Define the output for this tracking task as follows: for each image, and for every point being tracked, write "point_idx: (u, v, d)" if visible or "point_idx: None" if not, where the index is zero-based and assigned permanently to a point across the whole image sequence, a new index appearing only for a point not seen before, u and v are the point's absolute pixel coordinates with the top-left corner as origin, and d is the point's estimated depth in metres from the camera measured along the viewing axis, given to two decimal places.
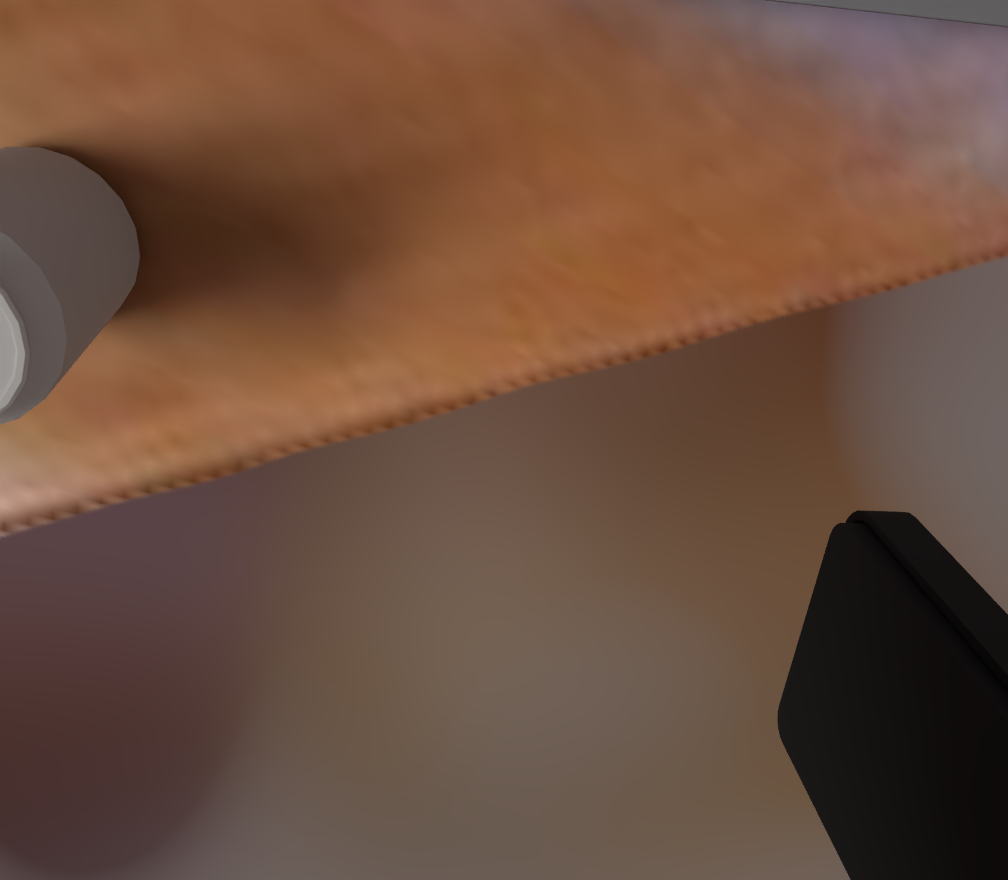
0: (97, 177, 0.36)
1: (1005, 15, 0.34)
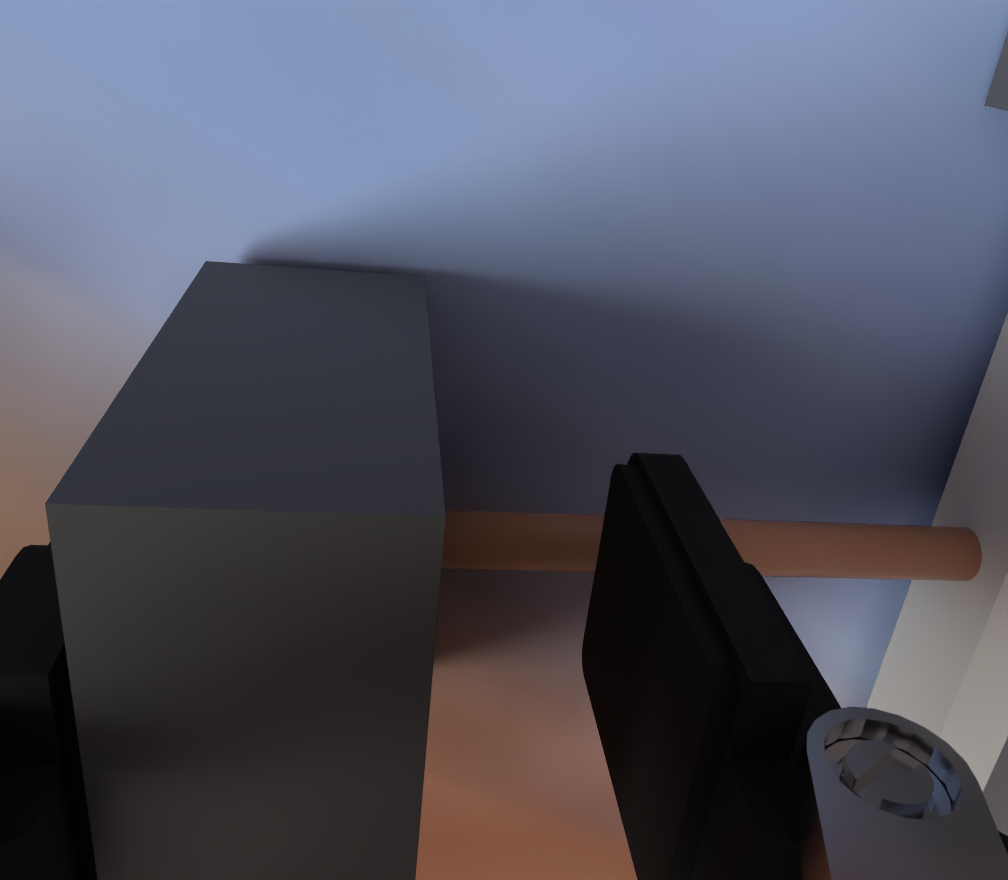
0: None
1: None
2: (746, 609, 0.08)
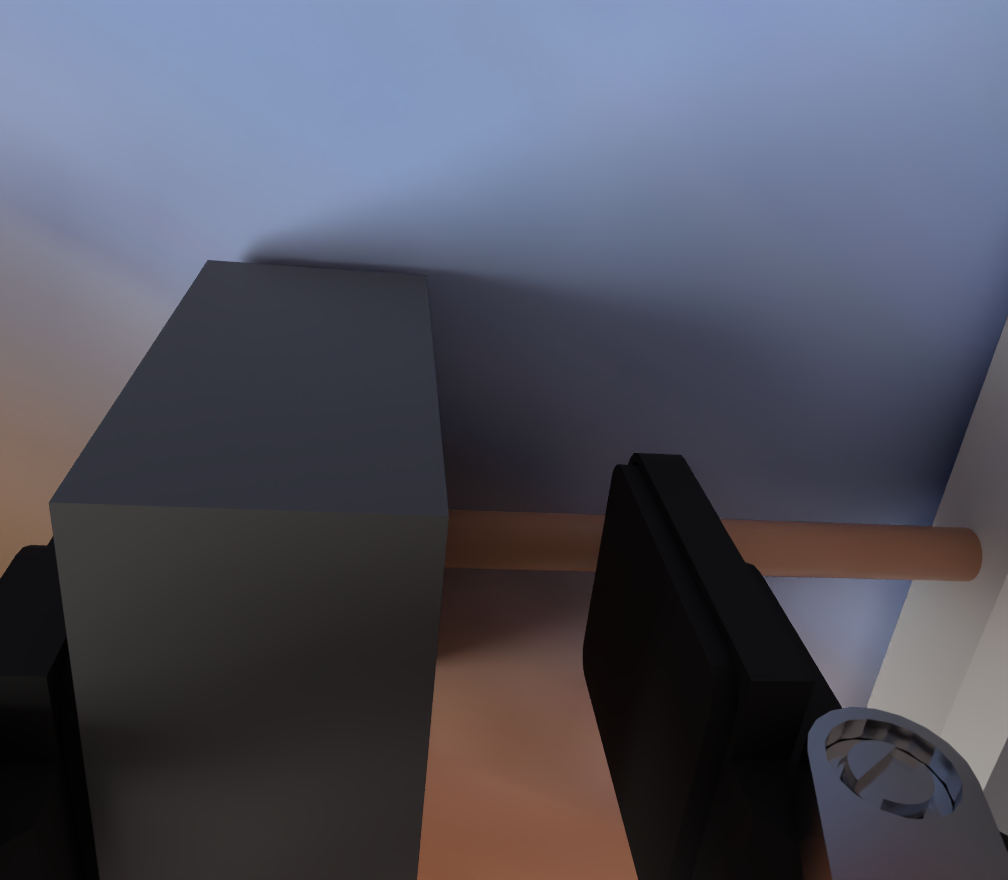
0: None
1: None
2: (747, 609, 0.08)
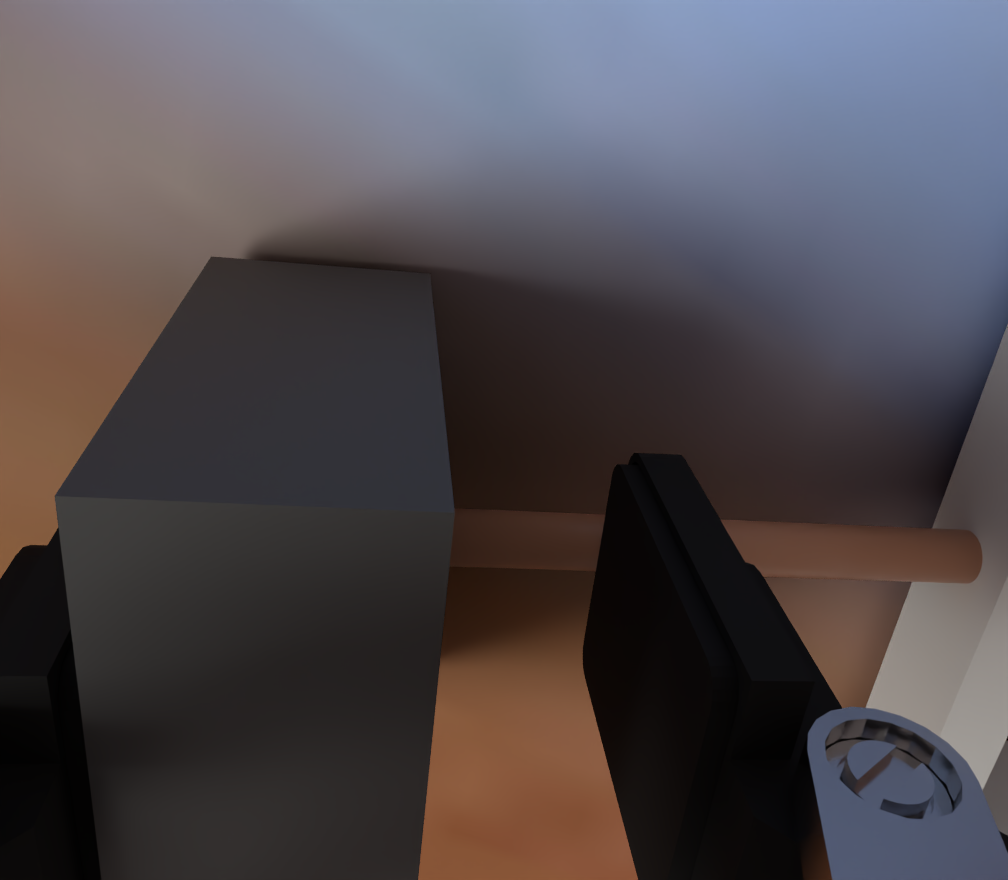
0: None
1: None
2: (747, 609, 0.08)
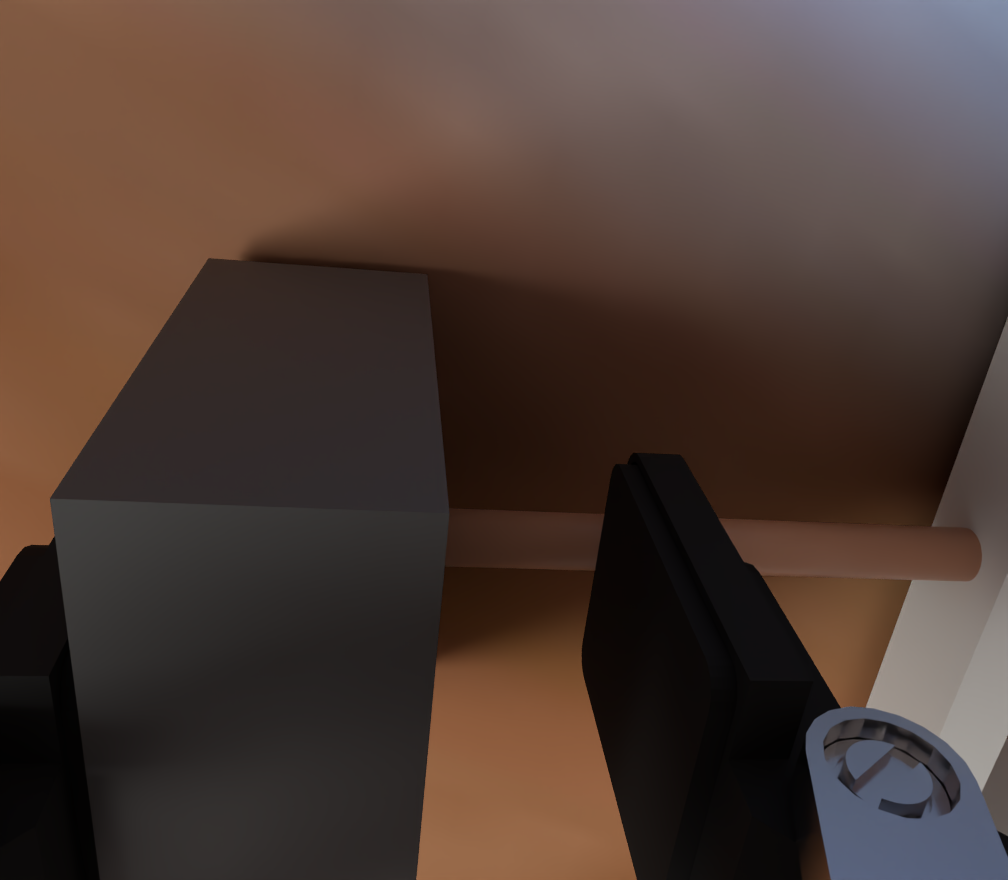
0: None
1: None
2: (745, 609, 0.08)
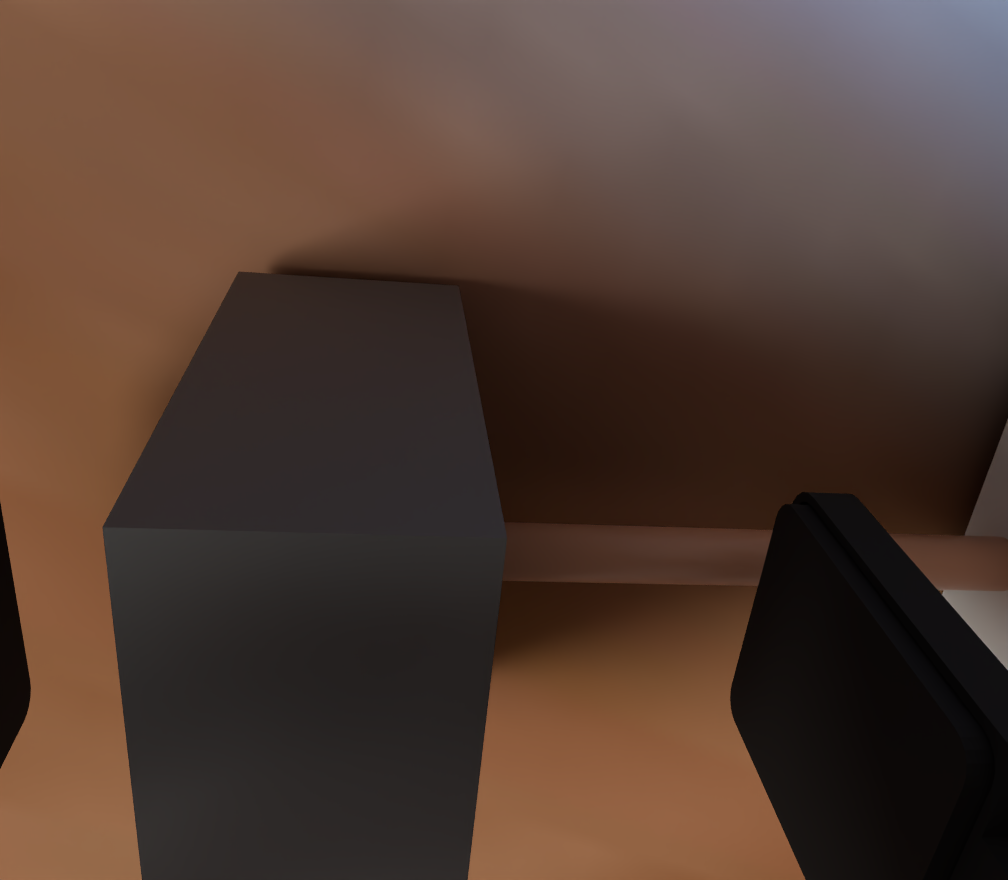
0: None
1: None
2: (983, 672, 0.07)
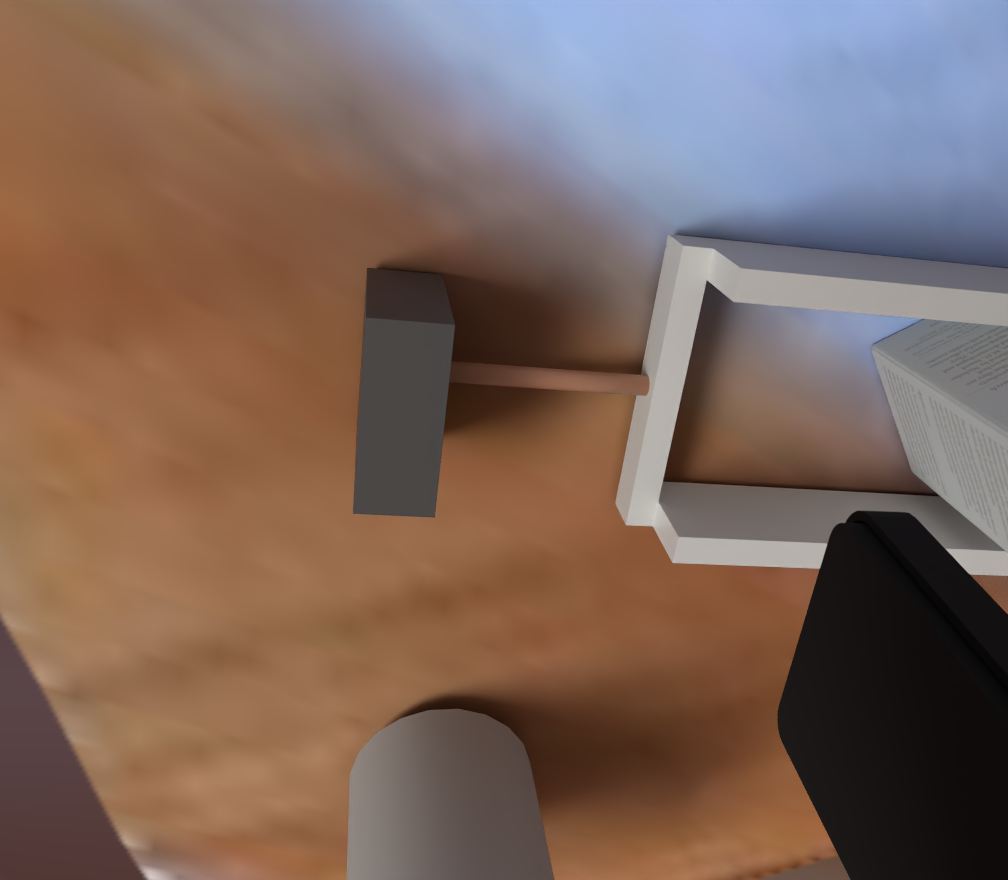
0: (509, 732, 0.37)
1: None
2: None
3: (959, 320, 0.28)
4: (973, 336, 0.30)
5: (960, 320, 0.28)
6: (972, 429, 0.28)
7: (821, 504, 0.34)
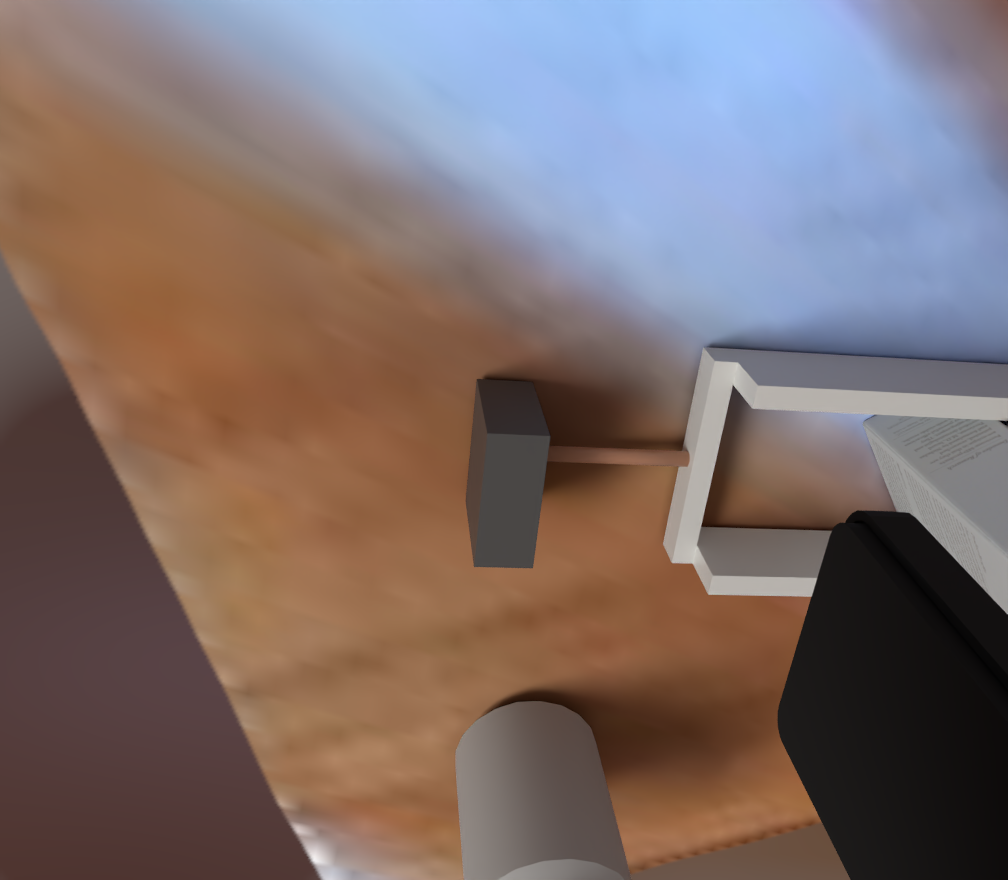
0: (580, 719, 0.47)
1: None
2: None
3: (924, 415, 0.38)
4: (939, 420, 0.40)
5: (925, 415, 0.38)
6: (933, 498, 0.37)
7: (824, 543, 0.43)
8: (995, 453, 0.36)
